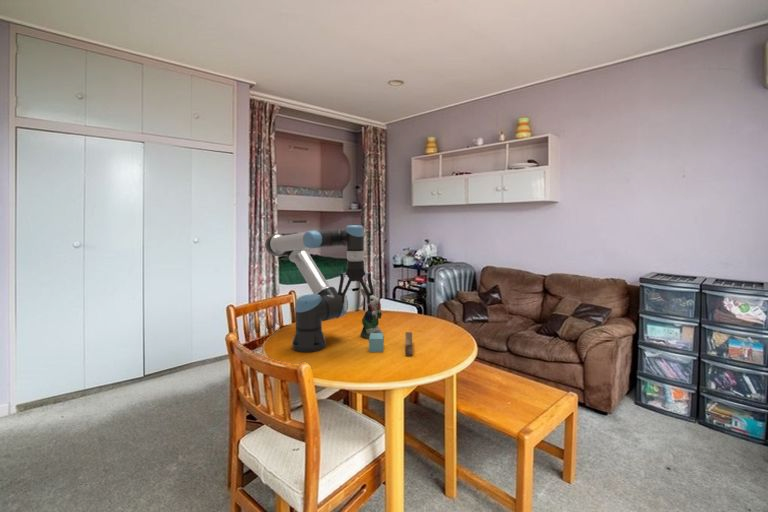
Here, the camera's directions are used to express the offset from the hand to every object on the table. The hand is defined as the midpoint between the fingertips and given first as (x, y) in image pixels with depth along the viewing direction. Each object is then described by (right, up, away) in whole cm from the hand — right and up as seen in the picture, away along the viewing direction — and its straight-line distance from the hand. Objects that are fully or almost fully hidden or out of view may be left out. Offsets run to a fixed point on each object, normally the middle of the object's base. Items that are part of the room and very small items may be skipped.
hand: (356, 310), depth 177 cm
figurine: (+6, -16, +20) cm, 26 cm away
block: (+9, -17, +1) cm, 20 cm away
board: (+24, -17, 0) cm, 29 cm away
